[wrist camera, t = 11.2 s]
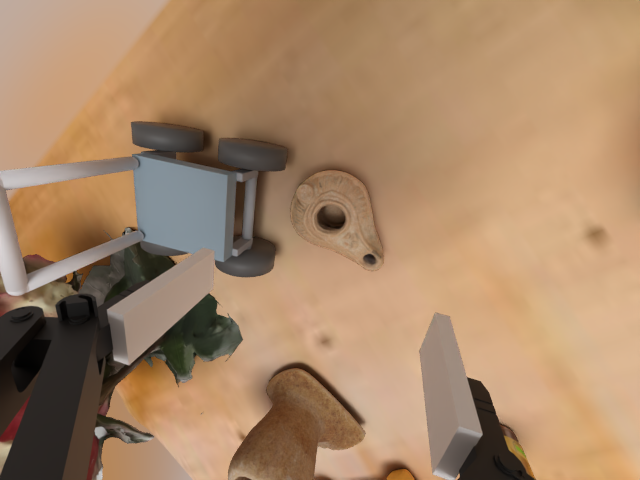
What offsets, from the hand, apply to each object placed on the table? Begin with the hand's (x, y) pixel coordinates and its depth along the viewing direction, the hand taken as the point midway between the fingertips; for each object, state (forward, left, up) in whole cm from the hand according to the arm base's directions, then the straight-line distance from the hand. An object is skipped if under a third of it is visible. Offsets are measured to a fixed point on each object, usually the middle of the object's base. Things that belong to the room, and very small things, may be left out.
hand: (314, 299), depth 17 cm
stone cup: (+32, 0, -20) cm, 38 cm away
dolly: (+1, -16, -19) cm, 25 cm away
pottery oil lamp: (+1, -1, -20) cm, 20 cm away
